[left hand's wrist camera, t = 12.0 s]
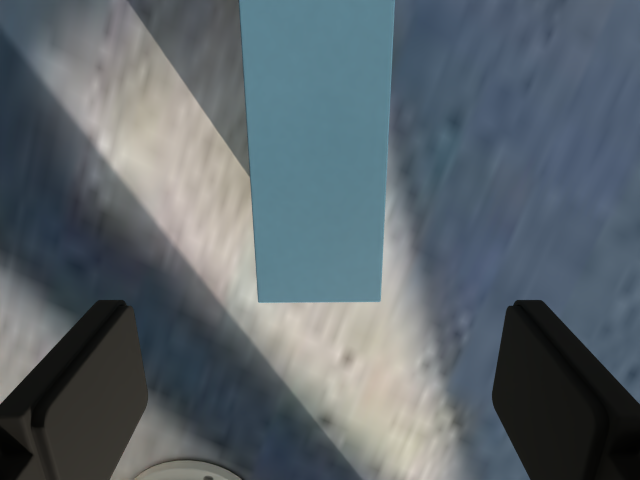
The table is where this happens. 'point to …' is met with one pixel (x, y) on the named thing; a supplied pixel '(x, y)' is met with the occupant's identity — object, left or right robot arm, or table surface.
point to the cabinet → (317, 144)
